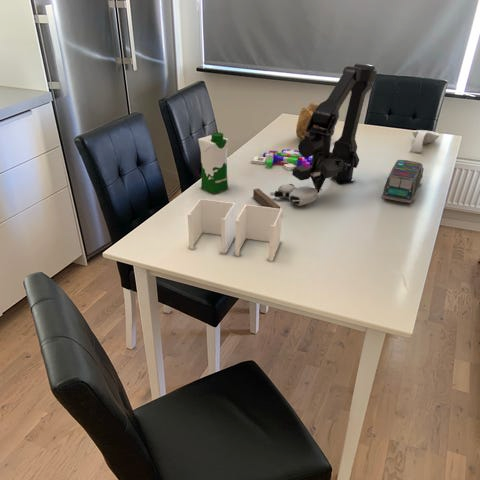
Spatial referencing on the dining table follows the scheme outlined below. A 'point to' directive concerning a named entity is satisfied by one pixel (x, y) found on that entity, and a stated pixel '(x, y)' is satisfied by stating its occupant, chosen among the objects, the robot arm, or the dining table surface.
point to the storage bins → (223, 223)
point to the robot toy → (296, 194)
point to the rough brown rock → (305, 121)
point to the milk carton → (214, 162)
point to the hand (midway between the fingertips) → (317, 192)
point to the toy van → (403, 181)
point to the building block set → (283, 159)
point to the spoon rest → (422, 139)
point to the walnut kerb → (264, 199)
